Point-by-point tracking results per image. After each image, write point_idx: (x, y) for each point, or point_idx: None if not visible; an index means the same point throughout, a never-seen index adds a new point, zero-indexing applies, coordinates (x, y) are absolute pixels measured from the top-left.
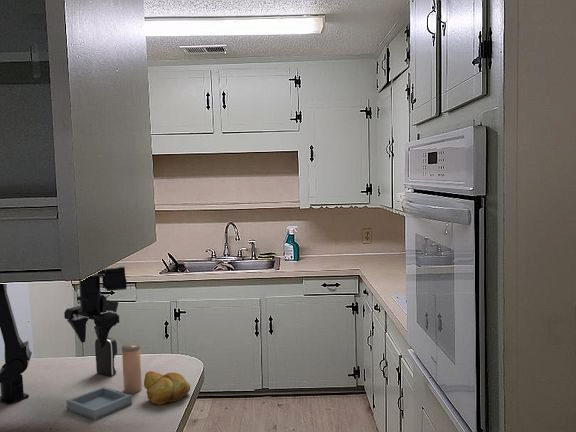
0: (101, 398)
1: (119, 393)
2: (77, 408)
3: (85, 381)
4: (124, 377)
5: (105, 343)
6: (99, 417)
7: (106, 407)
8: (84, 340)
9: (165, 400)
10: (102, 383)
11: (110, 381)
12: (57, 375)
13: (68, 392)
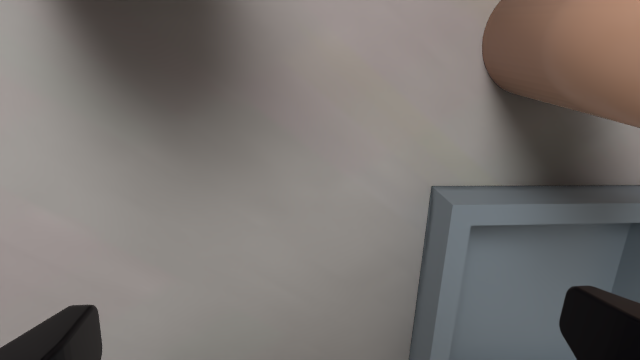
0: (481, 245)
1: (613, 221)
2: None
3: (125, 103)
4: (579, 111)
5: (638, 303)
6: None
7: None
8: (90, 329)
9: None
10: (267, 64)
11: (284, 5)
12: None
13: (213, 273)
